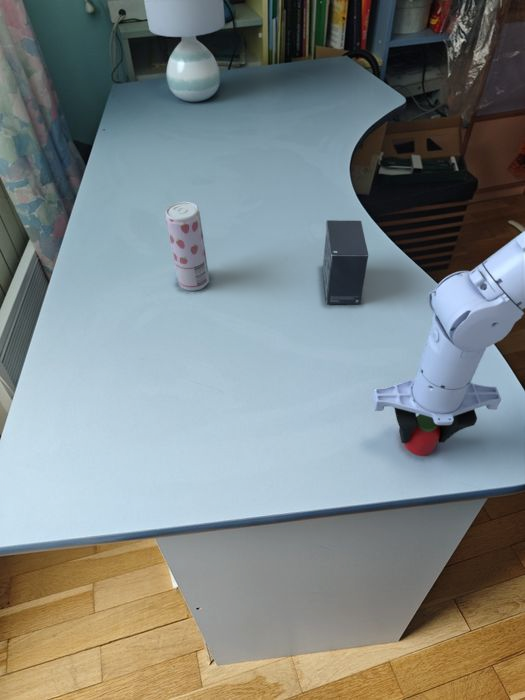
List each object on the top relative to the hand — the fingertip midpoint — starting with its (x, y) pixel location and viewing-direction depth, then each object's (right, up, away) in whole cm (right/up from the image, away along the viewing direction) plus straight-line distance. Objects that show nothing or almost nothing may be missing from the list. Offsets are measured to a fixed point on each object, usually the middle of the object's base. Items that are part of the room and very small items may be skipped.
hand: (420, 436), depth 64 cm
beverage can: (-34, +24, +26) cm, 49 cm away
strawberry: (0, -1, +1) cm, 1 cm away
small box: (-7, +23, +24) cm, 34 cm away
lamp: (-42, +91, +89) cm, 134 cm away
